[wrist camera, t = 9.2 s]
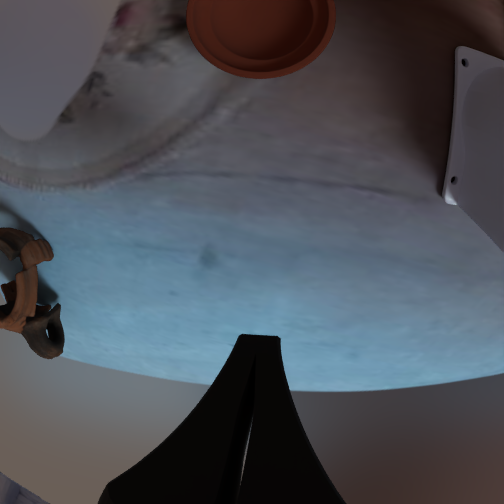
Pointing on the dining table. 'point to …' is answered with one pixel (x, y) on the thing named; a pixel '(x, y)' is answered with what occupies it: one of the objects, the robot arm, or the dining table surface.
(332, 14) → the pottery
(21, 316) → the broken clay jug rim
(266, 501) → the robot arm
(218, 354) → the dining table surface
